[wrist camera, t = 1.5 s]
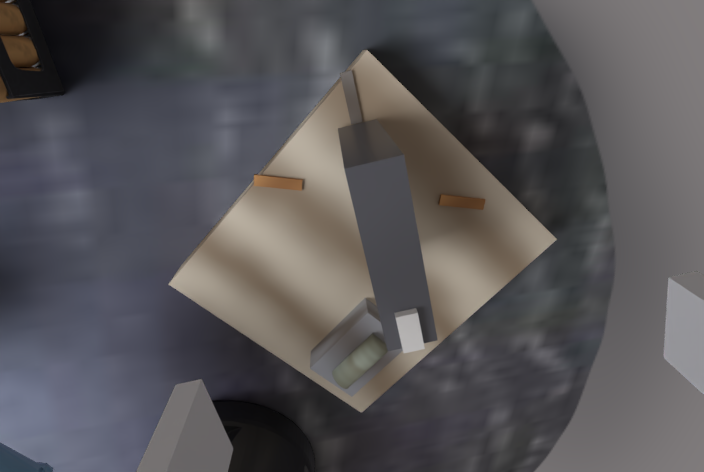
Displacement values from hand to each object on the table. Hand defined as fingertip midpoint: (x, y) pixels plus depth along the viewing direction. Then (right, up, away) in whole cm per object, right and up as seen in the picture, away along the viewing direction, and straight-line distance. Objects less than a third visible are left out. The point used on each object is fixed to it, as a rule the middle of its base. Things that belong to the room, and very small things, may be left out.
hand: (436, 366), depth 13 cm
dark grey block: (-1, +7, +16) cm, 18 cm away
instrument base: (-2, +3, +21) cm, 21 cm away
